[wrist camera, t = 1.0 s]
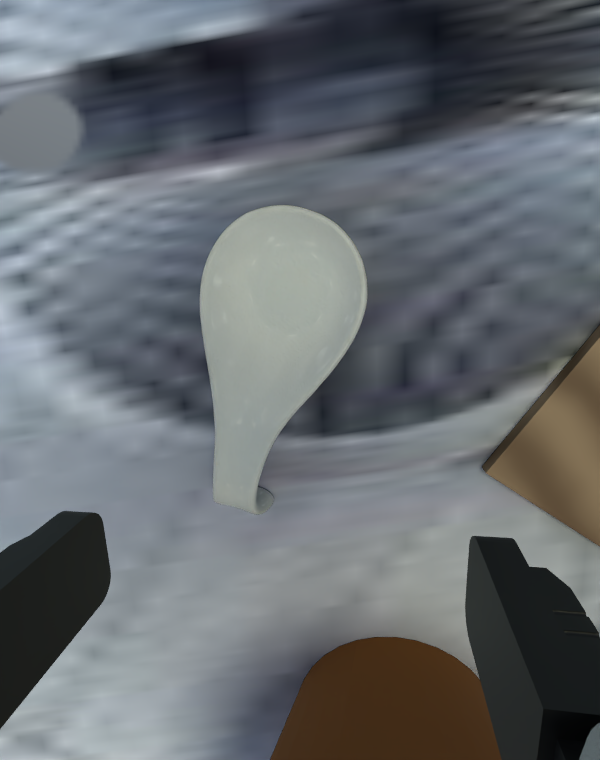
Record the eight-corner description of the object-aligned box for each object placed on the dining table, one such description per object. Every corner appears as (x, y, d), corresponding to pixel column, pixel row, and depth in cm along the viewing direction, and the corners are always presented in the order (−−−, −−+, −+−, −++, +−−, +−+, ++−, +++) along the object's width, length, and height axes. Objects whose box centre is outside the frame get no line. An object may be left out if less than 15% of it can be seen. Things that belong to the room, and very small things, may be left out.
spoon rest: (230, 198, 33) (194, 177, 26) (383, 228, 32) (388, 214, 25) (188, 478, 39) (150, 521, 32) (317, 512, 38) (306, 563, 31)
